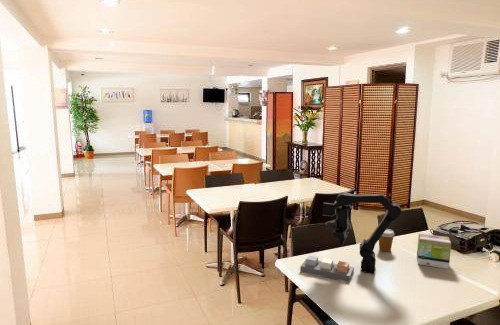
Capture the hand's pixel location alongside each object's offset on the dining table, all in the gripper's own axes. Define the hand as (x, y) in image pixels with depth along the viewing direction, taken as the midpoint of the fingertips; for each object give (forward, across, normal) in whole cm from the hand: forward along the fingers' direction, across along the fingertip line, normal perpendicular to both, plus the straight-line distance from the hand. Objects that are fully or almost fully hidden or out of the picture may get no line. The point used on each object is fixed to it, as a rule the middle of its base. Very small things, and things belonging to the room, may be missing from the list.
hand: (341, 245), depth 185 cm
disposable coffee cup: (+12, -34, +19) cm, 41 cm away
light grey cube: (+11, +10, -13) cm, 19 cm away
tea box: (+12, -26, +44) cm, 52 cm away
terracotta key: (+11, +9, +3) cm, 15 cm away
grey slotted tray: (+12, +10, -5) cm, 16 cm away
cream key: (+11, +10, -5) cm, 15 cm away
